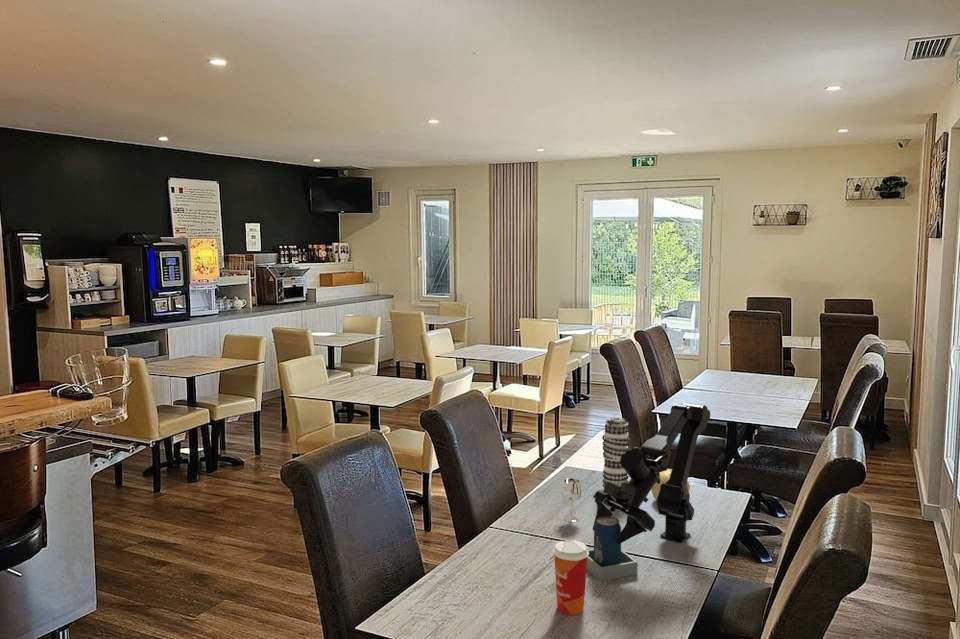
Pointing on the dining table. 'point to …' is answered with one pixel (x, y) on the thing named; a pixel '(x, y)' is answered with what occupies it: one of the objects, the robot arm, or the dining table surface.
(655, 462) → the robot arm
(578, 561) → the coffee cup
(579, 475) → the dining table surface
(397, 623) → the dining table surface
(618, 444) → the decorative candle
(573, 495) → the wineglass
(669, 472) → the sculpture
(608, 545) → the soda can
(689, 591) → the dining table surface
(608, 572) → the tray
